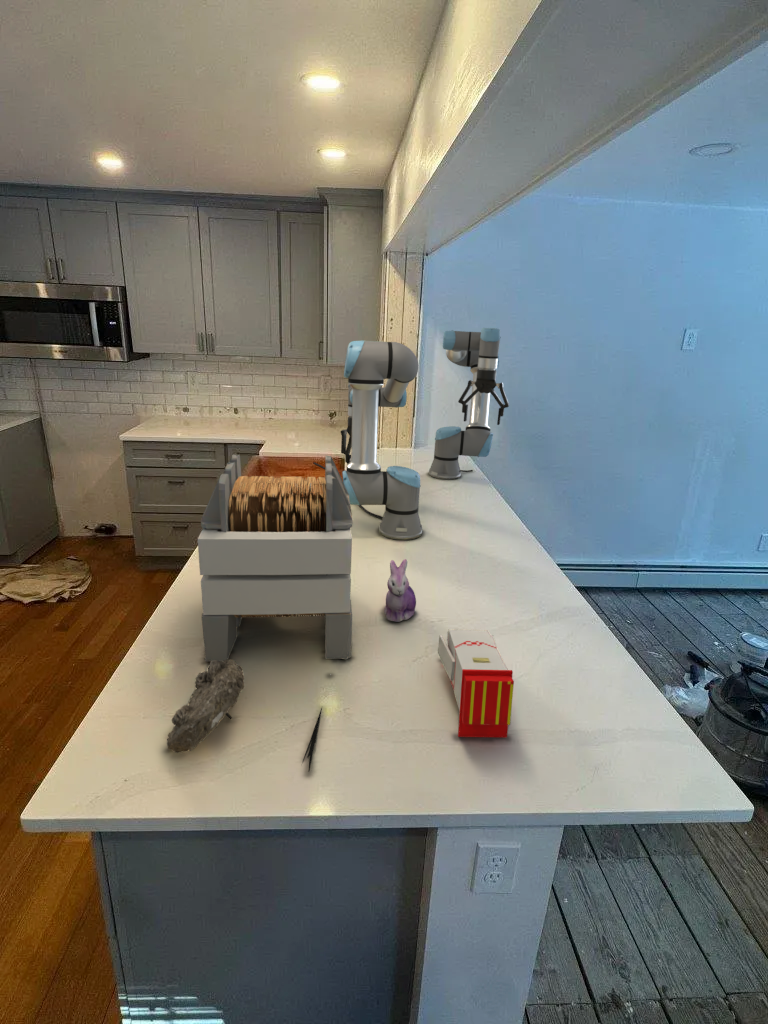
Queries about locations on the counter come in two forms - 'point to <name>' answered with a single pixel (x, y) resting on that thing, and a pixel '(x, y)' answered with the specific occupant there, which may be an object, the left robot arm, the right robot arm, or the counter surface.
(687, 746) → the counter surface
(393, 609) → the figurine
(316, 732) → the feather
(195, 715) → the fossil
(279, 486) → the record crate
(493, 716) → the toy
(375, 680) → the counter surface
